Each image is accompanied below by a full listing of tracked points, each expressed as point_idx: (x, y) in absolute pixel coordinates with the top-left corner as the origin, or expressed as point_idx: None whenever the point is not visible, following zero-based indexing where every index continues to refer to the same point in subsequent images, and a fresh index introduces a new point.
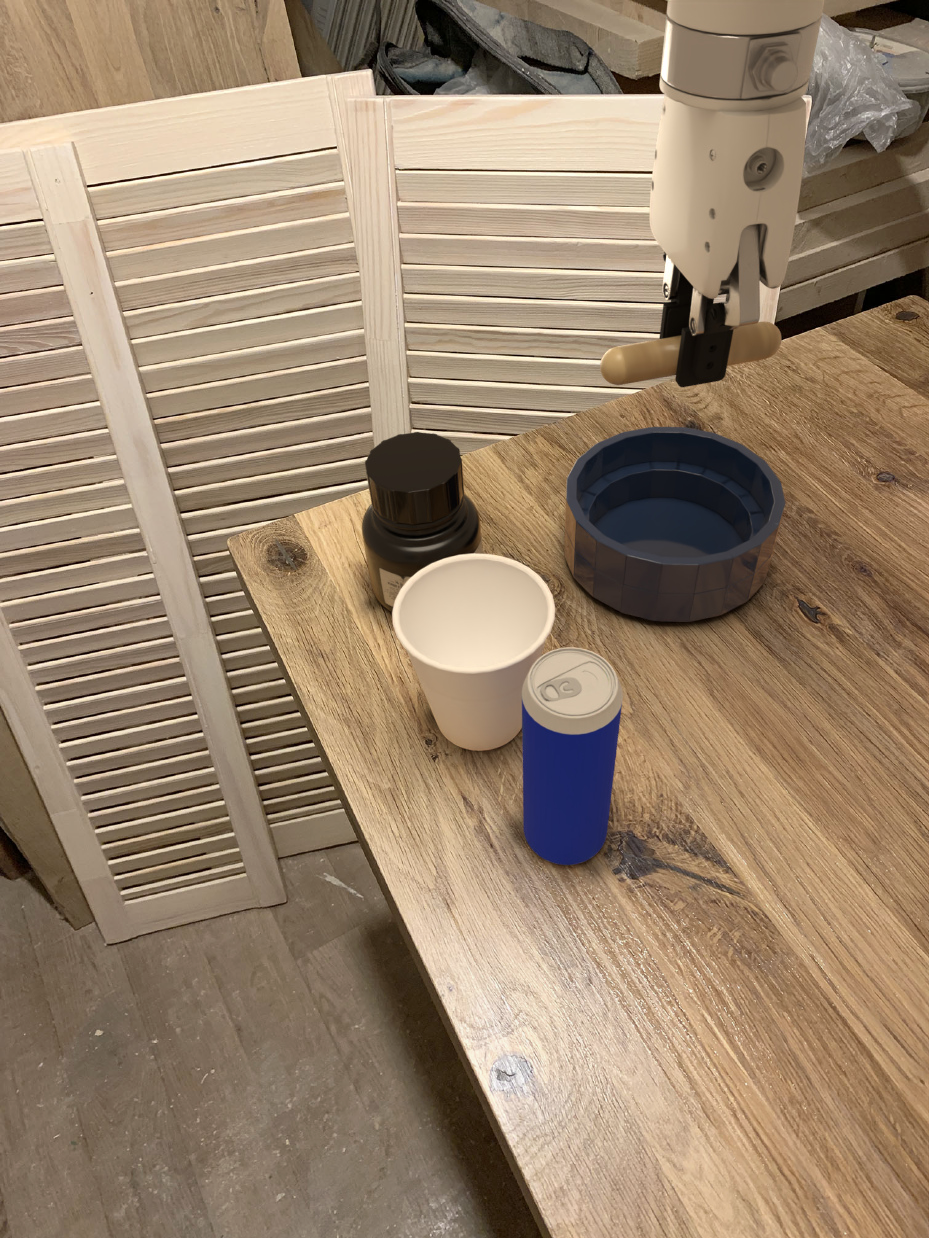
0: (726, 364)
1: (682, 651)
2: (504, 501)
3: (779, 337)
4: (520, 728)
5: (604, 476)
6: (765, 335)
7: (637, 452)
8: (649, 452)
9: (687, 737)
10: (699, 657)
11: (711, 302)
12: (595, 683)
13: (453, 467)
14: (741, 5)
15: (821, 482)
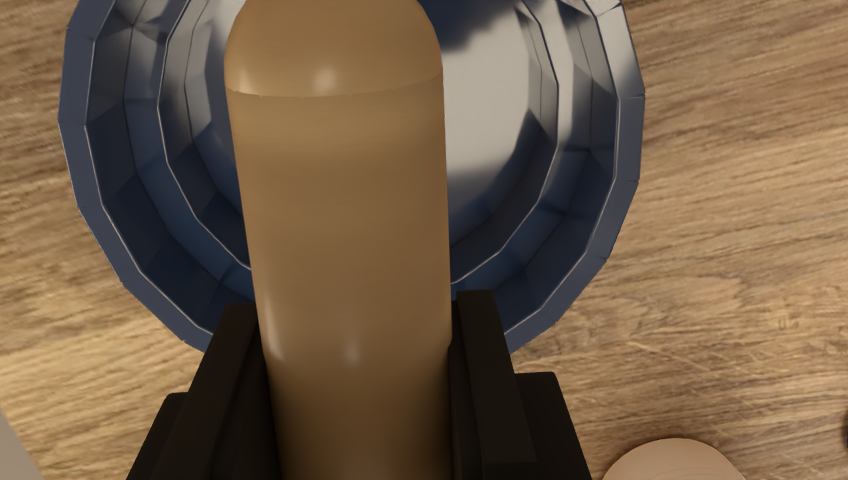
0: (496, 319)
1: (642, 154)
2: (141, 372)
3: (398, 5)
4: (723, 456)
5: (169, 226)
6: (407, 115)
7: (116, 149)
8: (112, 113)
9: (825, 208)
10: (667, 128)
11: (207, 477)
12: None
13: None
14: None
15: None
